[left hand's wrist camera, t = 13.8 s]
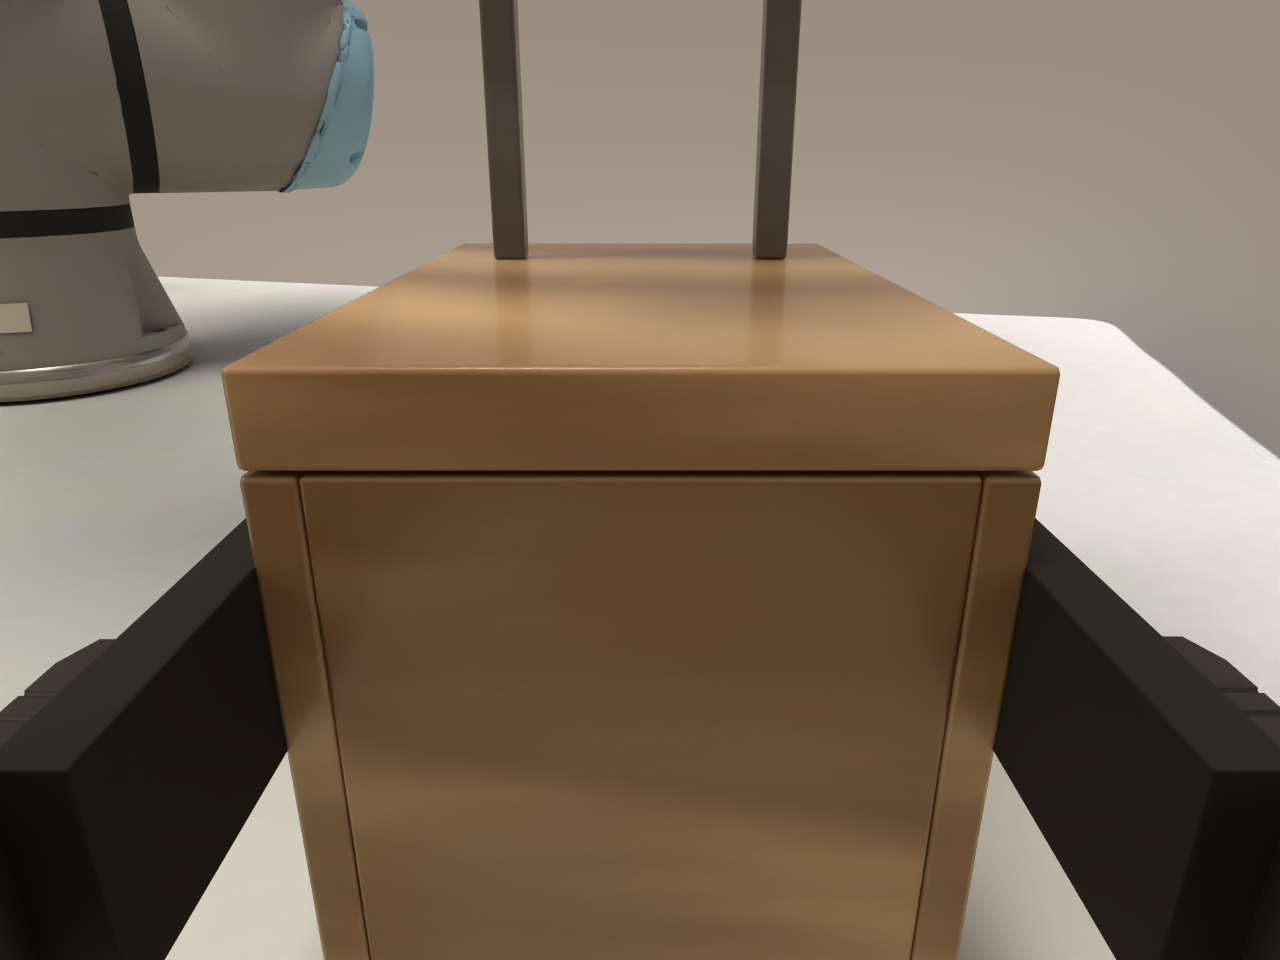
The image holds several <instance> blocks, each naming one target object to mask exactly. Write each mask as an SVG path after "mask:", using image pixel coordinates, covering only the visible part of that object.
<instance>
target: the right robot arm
mask: <svg viewBox="0 0 1280 960" xmlns="http://www.w3.org/2000/svg"><path fill="white" fill-rule="evenodd" d="M373 93H374V67H373V51H372V43H371V38H370V35H369V34H368V33H367V21H366V18H365V15H364V13H363V11H362V10H361V8H360V7H359V6H358V5H356V4H355V3H353V2H351V1H349V0H0V402H14V401H27V400H38V399H48V398H57V397H65V396H72V395H79V394H86V393H92V392H98V391H104V390H109V389H114V388H119V387H124V386H128V385H133V384H137V383H141V382H145V381H149V380H152V379H155V378H159V377H162V376H165V375H167V374H170V373H173V372H175V371H177V370H179V369H181V368H183V367H185V366H186V365H187V364H189V363H190V362H191V360H192V353H191V348H190V342H189V337H188V332H187V330H186V329H185V327H184V324H183V322H182V320H181V319H180V317H179V315H178V313H177V311H176V310H175V308H174V306H173V304H172V302H171V301H170V299H169V297H168V295H167V293H166V292H165V290H164V288H163V286H162V284H161V283H160V281H159V279H158V277H157V276H156V274H155V272H154V270H153V268H152V267H151V265H150V263H149V261H148V259H147V258H146V256H145V254H144V252H143V250H142V249H141V247H140V244H139V242H138V239H137V235H136V231H135V227H134V222H133V217H132V212H131V207H130V201H129V195H130V194H132V193H187V192H241V191H278V192H280V193H290V192H292V191H293V190H299V189H314V188H328V187H335V186H338V185H341V184H343V183H344V182H346V181H347V180H348V179H350V178H351V177H352V175H353V174H354V173H355V171H356V170H357V168H358V167H359V164H360V162H361V160H362V158H363V154H364V151H365V147H366V145H367V141H368V136H369V131H370V125H371V118H372V108H373Z"/></svg>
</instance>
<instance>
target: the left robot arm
mask: <svg viewBox="0 0 1280 960" xmlns="http://www.w3.org/2000/svg"><path fill="white" fill-rule="evenodd" d="M1257 689H1258V687H1256V686H1255V685H1254V684H1253V683H1252V682H1251V681H1250V680H1248V679H1247V678H1246V677H1245V676H1244V675H1243V674H1242V673H1240V672H1239V671H1238V670H1237V669H1236V668H1235V667H1233V666H1232V665H1231V664H1230V663H1229V662H1228V661H1227V660H1225V659H1223V658H1221V657H1219V656H1218V655H1216V654H1214V653H1212V652H1210V651H1208V650H1206V649H1205V648H1203V647H1201V646H1199V645H1197V644H1195V643H1193V642H1191V641H1190V640H1188V639H1186V638H1184V637H1163V636H1161V635H1160V634H1159V633H1158V632H1157V631H1156V630H1155V629H1154V628H1153V627H1152V626H1150V625H1149V624H1148V623H1147V622H1146V621H1145V620H1144V619H1143V618H1142V617H1141V616H1140V615H1139V614H1138V613H1137V612H1135V611H1134V610H1133V609H1132V608H1131V607H1130V606H1129V605H1128V604H1127V603H1126V602H1125V601H1124V600H1123V599H1121V598H1120V597H1119V596H1118V595H1117V594H1116V593H1115V592H1114V591H1113V590H1112V589H1111V588H1110V587H1109V586H1108V585H1106V584H1105V583H1104V582H1103V581H1102V580H1101V579H1100V578H1099V577H1098V576H1097V575H1096V574H1095V573H1094V572H1093V571H1091V570H1090V569H1089V568H1088V567H1087V566H1086V565H1085V564H1084V563H1083V562H1082V561H1081V560H1080V559H1079V558H1077V557H1076V556H1075V555H1074V554H1073V553H1072V552H1071V551H1070V550H1069V549H1068V548H1067V547H1066V546H1065V545H1064V544H1062V543H1061V542H1060V541H1059V540H1058V539H1057V538H1056V537H1055V536H1054V535H1053V534H1052V533H1051V532H1050V531H1049V530H1047V529H1046V528H1045V527H1044V526H1043V525H1042V524H1041V523H1040V522H1039V521H1038V520H1037V519H1036V518H1035V521H1034V527H1033V532H1032V538H1031V544H1030V549H1029V555H1028V561H1027V566H1026V570H1025V576H1024V582H1023V587H1022V593H1021V599H1020V604H1019V610H1018V615H1017V621H1016V627H1015V632H1014V638H1013V644H1012V649H1011V655H1010V661H1009V666H1008V672H1007V678H1006V683H1005V689H1004V694H1003V700H1002V706H1001V711H1000V717H999V723H998V728H997V734H996V740H995V745H994V752H995V754H996V756H997V757H998V759H999V761H1000V762H1001V764H1002V766H1003V768H1004V769H1005V771H1006V773H1007V774H1008V776H1009V778H1010V779H1011V781H1012V783H1013V785H1014V786H1015V788H1016V790H1017V791H1018V793H1019V795H1020V797H1021V798H1022V800H1023V802H1024V803H1025V805H1026V807H1027V808H1028V810H1029V812H1030V814H1031V815H1032V817H1033V819H1034V820H1035V822H1036V824H1037V825H1038V827H1039V829H1040V831H1041V832H1042V834H1043V836H1044V837H1045V839H1046V841H1047V842H1048V844H1049V846H1050V848H1051V849H1052V851H1053V853H1054V854H1055V856H1056V858H1057V860H1058V861H1059V863H1060V865H1061V866H1062V868H1063V870H1064V871H1065V873H1066V875H1067V877H1068V878H1069V880H1070V882H1071V883H1072V885H1073V887H1074V888H1075V890H1076V892H1077V894H1078V895H1079V897H1080V899H1081V900H1082V902H1083V904H1084V905H1085V907H1086V909H1087V911H1088V912H1089V914H1090V916H1091V917H1092V919H1093V921H1094V923H1095V924H1096V926H1097V928H1098V929H1099V931H1100V933H1101V934H1102V936H1103V938H1104V940H1105V941H1106V943H1107V945H1108V946H1109V948H1110V950H1111V951H1112V953H1113V955H1114V957H1115V958H1116V960H1280V707H1279V706H1278V705H1277V704H1276V703H1275V702H1274V701H1273V700H1271V699H1270V698H1269V697H1268V696H1267V695H1266V694H1265V693H1258V690H1257ZM286 752H287V745H286V739H285V734H284V728H283V722H282V717H281V711H280V706H279V700H278V694H277V689H276V683H275V677H274V672H273V666H272V660H271V655H270V649H269V643H268V638H267V632H266V626H265V621H264V615H263V609H262V604H261V598H260V592H259V587H258V581H257V575H256V570H255V565H254V559H253V553H252V548H251V542H250V536H249V531H248V525H247V519H246V518H245V519H244V520H243V521H242V522H241V523H240V524H239V525H238V526H237V527H236V528H235V529H234V530H233V531H232V532H230V533H229V534H228V535H227V536H226V537H225V538H224V539H223V540H222V541H221V542H220V543H219V544H218V545H216V546H215V547H214V548H213V549H212V550H211V551H210V552H209V553H208V554H207V555H206V556H205V557H204V558H203V559H201V560H200V561H199V562H198V563H197V564H196V565H195V566H194V567H193V568H192V569H191V570H190V571H189V572H188V573H186V574H185V575H184V576H183V577H182V578H181V579H180V580H179V581H178V582H177V583H176V584H175V585H174V586H173V587H171V588H170V589H169V590H168V591H167V592H166V593H165V594H164V595H163V596H162V597H161V598H160V599H159V600H158V601H156V602H155V603H154V604H153V605H152V606H151V607H150V608H149V609H148V610H147V611H146V612H145V613H144V614H142V615H141V616H140V617H139V618H138V619H137V620H136V621H135V622H134V623H133V624H132V625H131V626H130V627H129V628H127V629H126V630H125V631H124V632H123V633H122V634H121V635H120V636H119V637H118V638H117V639H100V640H98V641H96V642H94V643H92V644H90V645H88V646H87V647H85V648H83V649H81V650H79V651H77V652H75V653H74V654H72V655H70V656H68V657H66V658H64V659H62V660H61V661H59V662H57V663H55V664H54V665H53V666H52V667H51V668H50V669H49V670H47V671H46V672H45V673H44V674H43V675H42V676H41V677H39V678H38V679H37V680H36V681H35V682H34V683H33V684H32V685H30V686H29V687H28V688H27V689H26V690H25V694H24V696H18V697H17V698H16V699H14V700H13V701H12V702H11V703H10V704H9V705H8V706H6V707H5V708H4V709H3V710H2V711H1V712H0V960H165V958H166V957H167V955H168V953H169V952H170V950H171V948H172V946H173V945H174V943H175V941H176V940H177V938H178V936H179V935H180V933H181V931H182V929H183V928H184V926H185V924H186V923H187V921H188V919H189V918H190V916H191V914H192V912H193V911H194V909H195V907H196V906H197V904H198V902H199V900H200V899H201V897H202V895H203V894H204V892H205V890H206V889H207V887H208V885H209V883H210V882H211V880H212V878H213V877H214V875H215V873H216V872H217V870H218V868H219V866H220V865H221V863H222V861H223V860H224V858H225V856H226V854H227V853H228V851H229V849H230V848H231V846H232V844H233V843H234V841H235V839H236V837H237V836H238V834H239V832H240V831H241V829H242V827H243V826H244V824H245V822H246V820H247V819H248V817H249V815H250V814H251V812H252V810H253V809H254V807H255V805H256V803H257V802H258V800H259V798H260V797H261V795H262V793H263V791H264V790H265V788H266V786H267V785H268V783H269V781H270V780H271V778H272V776H273V774H274V773H275V771H276V769H277V768H278V766H279V764H280V763H281V761H282V759H283V757H284V756H285V754H286Z"/></svg>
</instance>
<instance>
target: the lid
mask: <svg viewBox="0 0 1280 960" xmlns="http://www.w3.org/2000/svg"><path fill="white" fill-rule="evenodd" d="M801 2H802V0H764V2H763V24H762V46H761V69H760V91H759V113H758V135H757V157H756V179H755V202H754V224H753V244H528V232H527V209H526V187H525V165H524V142H523V120H522V98H521V75H520V52H519V30H518V7H517V0H479V6H480V23H481V40H482V57H483V74H484V91H485V108H486V125H487V143H488V160H489V177H490V194H491V210H492V228H493V244H462V245H460V246H458V247H456V248H454V249H453V250H451V251H449V252H447V253H445V254H443V255H441V256H439V257H437V258H435V259H433V260H431V261H429V262H427V263H425V264H423V265H421V266H419V267H418V268H416V269H414V270H412V271H410V272H408V273H406V274H404V275H402V276H400V277H398V278H396V279H394V280H392V281H390V282H388V283H386V284H385V285H382V286H381V287H379V288H377V289H375V290H373V291H371V292H369V293H367V294H365V295H363V296H361V297H359V298H357V299H355V300H353V301H351V302H349V303H348V304H346V305H344V306H342V307H340V308H338V309H336V310H334V311H332V312H330V313H328V314H326V315H324V316H322V317H320V318H318V319H316V320H314V321H313V322H311V323H309V324H307V325H305V326H303V327H301V328H299V329H297V330H295V331H293V332H291V333H289V334H287V335H285V336H283V337H281V338H279V339H278V340H276V341H274V342H272V343H270V344H268V345H266V346H264V347H262V348H260V349H258V350H256V351H254V352H252V353H250V354H248V355H246V356H244V357H243V358H241V359H239V360H237V361H235V362H233V363H231V364H229V365H227V366H225V367H223V369H222V381H223V387H224V392H225V398H226V404H227V409H228V415H229V421H230V426H231V432H232V438H233V443H234V449H235V455H236V460H237V465H238V467H239V469H241V470H245V471H1037V470H1040V469H1042V468H1043V466H1044V462H1045V457H1046V451H1047V445H1048V440H1049V434H1050V428H1051V423H1052V417H1053V412H1054V406H1055V400H1056V395H1057V389H1058V383H1059V378H1060V372H1059V368H1058V367H1056V366H1054V365H1052V364H1050V363H1048V362H1046V361H1044V360H1042V359H1041V358H1039V357H1037V356H1035V355H1033V354H1031V353H1029V352H1027V351H1025V350H1023V349H1021V348H1019V347H1017V346H1015V345H1013V344H1011V343H1009V342H1007V341H1005V340H1003V339H1002V338H1000V337H998V336H996V335H994V334H992V333H990V332H988V331H986V330H984V329H982V328H980V327H978V326H976V325H974V324H972V323H970V322H968V321H966V320H964V319H963V318H961V317H959V316H957V315H955V314H953V313H951V312H949V311H947V310H945V309H943V308H941V307H939V306H937V305H935V304H933V303H931V302H929V301H927V300H925V299H923V298H922V297H920V296H918V295H916V294H914V293H912V292H910V291H908V290H906V289H904V288H902V287H900V286H898V285H896V284H894V283H892V282H890V281H888V280H886V279H884V278H883V277H881V276H879V275H877V274H875V273H873V272H871V271H869V270H867V269H865V268H863V267H861V266H859V265H857V264H855V263H853V262H851V261H849V260H847V259H845V258H844V257H842V256H840V255H838V254H836V253H834V252H832V251H830V250H828V249H826V248H824V247H822V246H820V245H818V244H787V240H788V222H789V205H790V188H791V172H792V155H793V138H794V121H795V104H796V87H797V70H798V53H799V35H800V19H801Z"/></svg>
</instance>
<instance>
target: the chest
mask: <svg viewBox="0 0 1280 960" xmlns="http://www.w3.org/2000/svg"><path fill="white" fill-rule="evenodd" d="M240 486H241V491H242V497H243V503H244V508H245V514H246V519H247V525H248V531H249V536H250V542H251V548H252V553H253V559H254V565H255V570H256V575H257V581H258V587H259V592H260V598H261V604H262V609H263V615H264V621H265V626H266V632H267V638H268V643H269V649H270V655H271V660H272V666H273V672H274V677H275V683H276V689H277V694H278V700H279V706H280V711H281V717H282V722H283V728H284V734H285V739H286V745H287V752H288V757H289V763H290V769H291V774H292V780H293V786H294V791H295V797H296V803H297V808H298V814H299V820H300V825H301V831H302V837H303V842H304V848H305V854H306V859H307V865H308V871H309V876H310V882H311V888H312V893H313V899H314V905H315V910H316V916H317V922H318V927H319V933H320V939H321V944H322V950H323V956H324V960H957V955H958V949H959V944H960V938H961V932H962V927H963V921H964V916H965V910H966V904H967V899H968V893H969V887H970V882H971V876H972V870H973V865H974V859H975V854H976V848H977V842H978V837H979V831H980V825H981V820H982V814H983V808H984V803H985V797H986V792H987V786H988V780H989V775H990V769H991V763H992V758H993V752H994V745H995V740H996V734H997V728H998V723H999V717H1000V711H1001V706H1002V700H1003V694H1004V689H1005V683H1006V678H1007V672H1008V666H1009V661H1010V655H1011V649H1012V644H1013V638H1014V632H1015V627H1016V621H1017V615H1018V610H1019V604H1020V599H1021V593H1022V587H1023V582H1024V576H1025V570H1026V566H1027V561H1028V555H1029V549H1030V544H1031V538H1032V532H1033V527H1034V521H1035V515H1036V510H1037V504H1038V499H1039V493H1040V487H1041V480H1040V477H1039V476H1038V475H1036V474H1035V473H1034V472H1033V471H249V472H247V473H246V474H245V475H244V476H242V478H241V481H240Z"/></svg>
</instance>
